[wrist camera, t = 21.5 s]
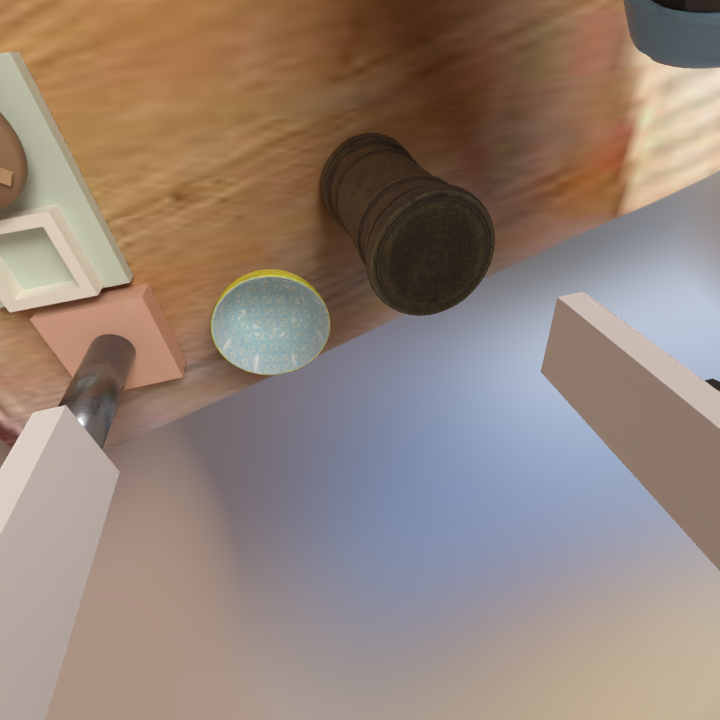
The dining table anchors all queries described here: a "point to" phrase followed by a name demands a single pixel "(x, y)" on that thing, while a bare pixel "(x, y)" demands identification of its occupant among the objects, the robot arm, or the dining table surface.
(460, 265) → the container
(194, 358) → the dining table surface
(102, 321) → the rest tile
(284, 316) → the bowl
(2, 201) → the handwheel
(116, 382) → the metal flanged cylinder
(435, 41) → the dining table surface
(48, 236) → the plate
